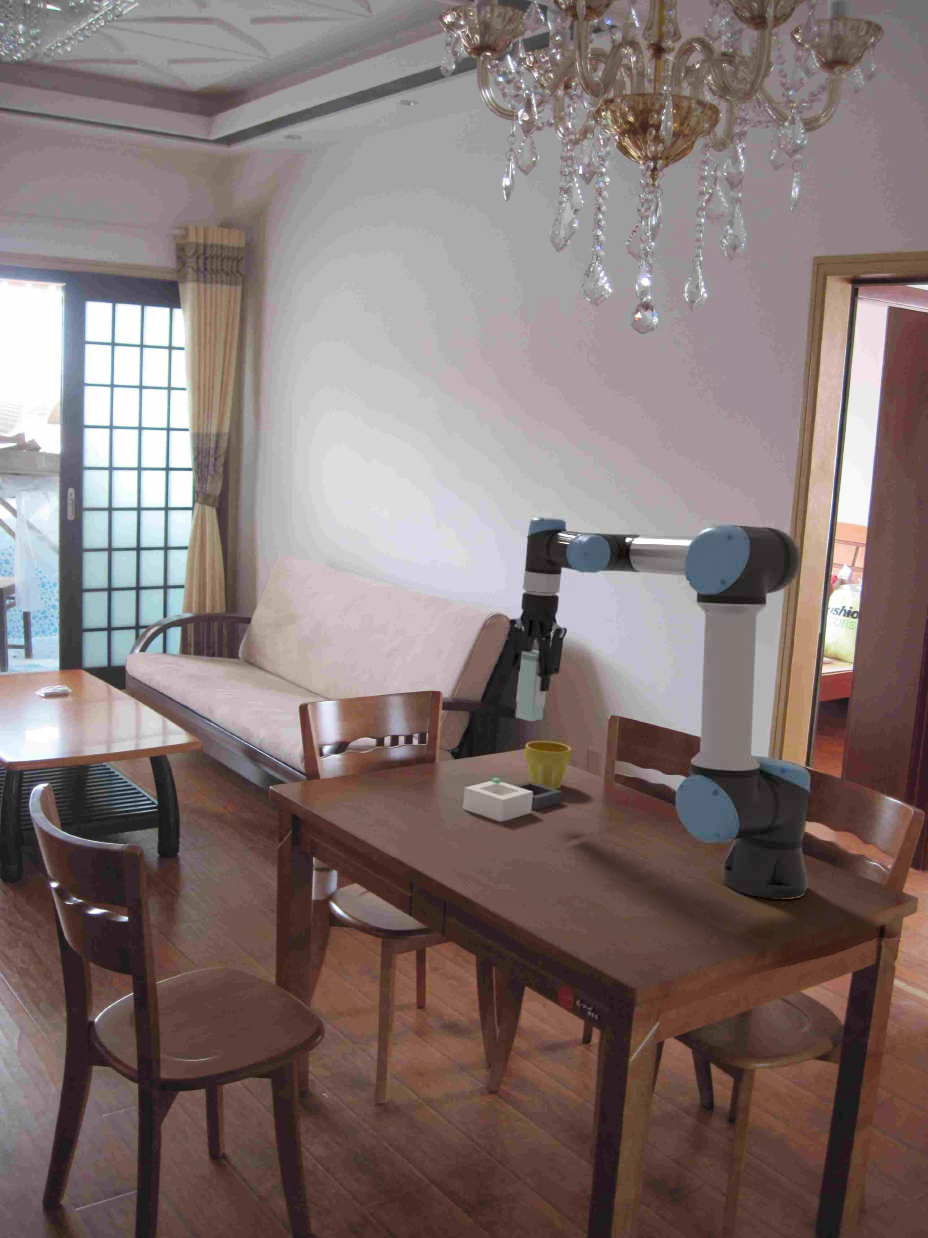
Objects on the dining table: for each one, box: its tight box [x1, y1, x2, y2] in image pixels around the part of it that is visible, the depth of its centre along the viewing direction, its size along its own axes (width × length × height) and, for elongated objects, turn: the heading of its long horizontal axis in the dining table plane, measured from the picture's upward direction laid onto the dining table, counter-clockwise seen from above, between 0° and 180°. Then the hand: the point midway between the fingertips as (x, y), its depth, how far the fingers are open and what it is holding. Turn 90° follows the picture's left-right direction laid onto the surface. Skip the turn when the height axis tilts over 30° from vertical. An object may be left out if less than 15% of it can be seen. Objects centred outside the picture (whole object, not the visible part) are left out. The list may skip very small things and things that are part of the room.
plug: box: [515, 649, 545, 722], centre depth 239 cm, size 4×4×14 cm
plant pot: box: [524, 740, 572, 790], centre depth 259 cm, size 10×10×10 cm
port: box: [462, 777, 533, 822], centre depth 236 cm, size 10×10×6 cm
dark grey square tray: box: [512, 780, 563, 811], centre depth 246 cm, size 9×9×3 cm
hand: (530, 703), depth 240 cm, fingers closed on plug, 4 cm apart
